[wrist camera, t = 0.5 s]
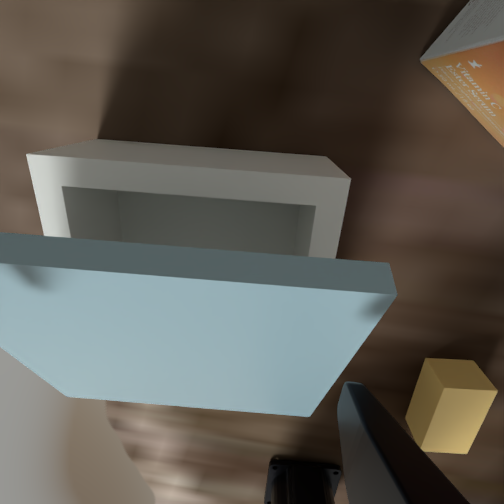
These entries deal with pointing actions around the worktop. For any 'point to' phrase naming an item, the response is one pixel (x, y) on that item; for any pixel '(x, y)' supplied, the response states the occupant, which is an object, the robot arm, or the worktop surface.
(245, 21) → the worktop surface
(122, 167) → the storage box
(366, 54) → the worktop surface
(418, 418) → the tan rectangular prism
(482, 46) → the small box
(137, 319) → the lid
